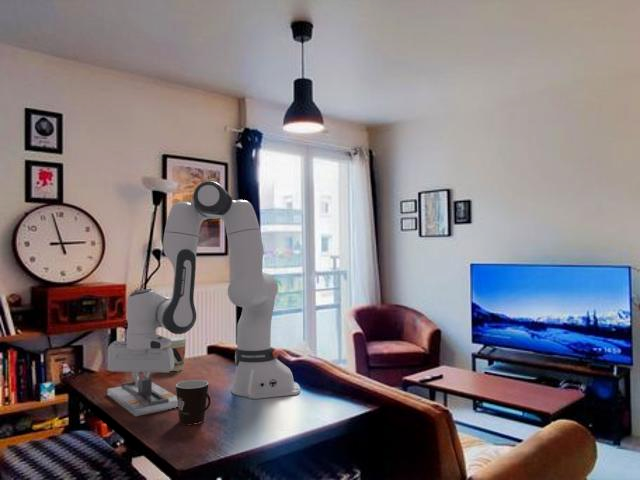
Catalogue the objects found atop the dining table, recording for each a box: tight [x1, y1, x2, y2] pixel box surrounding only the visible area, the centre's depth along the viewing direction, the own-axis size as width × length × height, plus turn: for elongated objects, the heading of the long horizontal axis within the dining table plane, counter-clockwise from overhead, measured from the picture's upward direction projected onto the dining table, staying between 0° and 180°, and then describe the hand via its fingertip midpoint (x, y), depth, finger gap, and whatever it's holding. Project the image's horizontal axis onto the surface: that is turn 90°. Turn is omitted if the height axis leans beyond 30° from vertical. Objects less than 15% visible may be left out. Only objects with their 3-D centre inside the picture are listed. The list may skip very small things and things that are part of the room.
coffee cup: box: [166, 336, 187, 372], centre depth 191 cm, size 9×9×12 cm
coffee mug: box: [175, 379, 211, 424], centre depth 132 cm, size 12×9×10 cm
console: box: [107, 380, 178, 417], centre depth 151 cm, size 26×14×3 cm, turn 39°
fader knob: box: [138, 376, 153, 396], centre depth 150 cm, size 4×3×4 cm
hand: (140, 385), depth 154 cm, fingers closed
